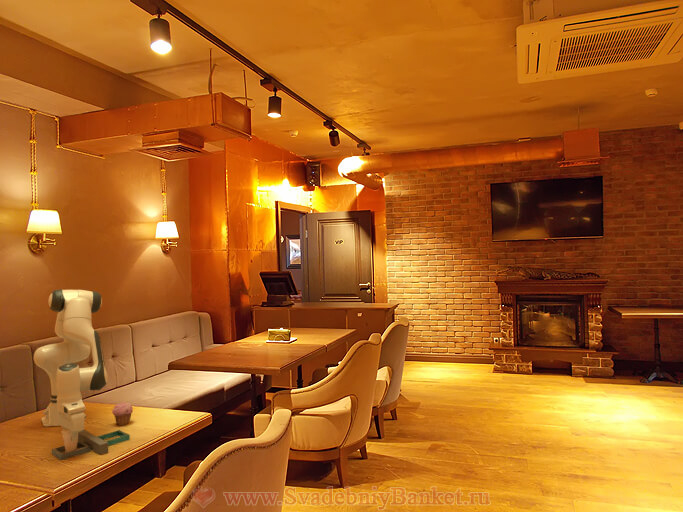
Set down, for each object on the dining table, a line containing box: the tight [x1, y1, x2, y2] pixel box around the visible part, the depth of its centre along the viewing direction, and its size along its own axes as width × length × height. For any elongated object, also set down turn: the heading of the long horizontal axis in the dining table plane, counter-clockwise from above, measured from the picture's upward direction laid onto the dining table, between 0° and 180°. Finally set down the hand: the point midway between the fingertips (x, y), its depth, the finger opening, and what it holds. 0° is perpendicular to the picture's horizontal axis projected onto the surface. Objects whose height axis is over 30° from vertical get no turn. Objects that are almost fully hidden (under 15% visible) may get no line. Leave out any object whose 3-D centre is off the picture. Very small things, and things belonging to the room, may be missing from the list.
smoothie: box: [61, 428, 78, 453], centre depth 196 cm, size 6×6×14 cm
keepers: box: [51, 429, 131, 461], centre depth 202 cm, size 10×27×2 cm, turn 137°
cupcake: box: [111, 402, 134, 426], centre depth 230 cm, size 9×9×10 cm
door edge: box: [77, 429, 109, 456], centre depth 202 cm, size 26×3×4 cm, turn 47°
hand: (70, 438), depth 196 cm, fingers closed on smoothie, 6 cm apart
